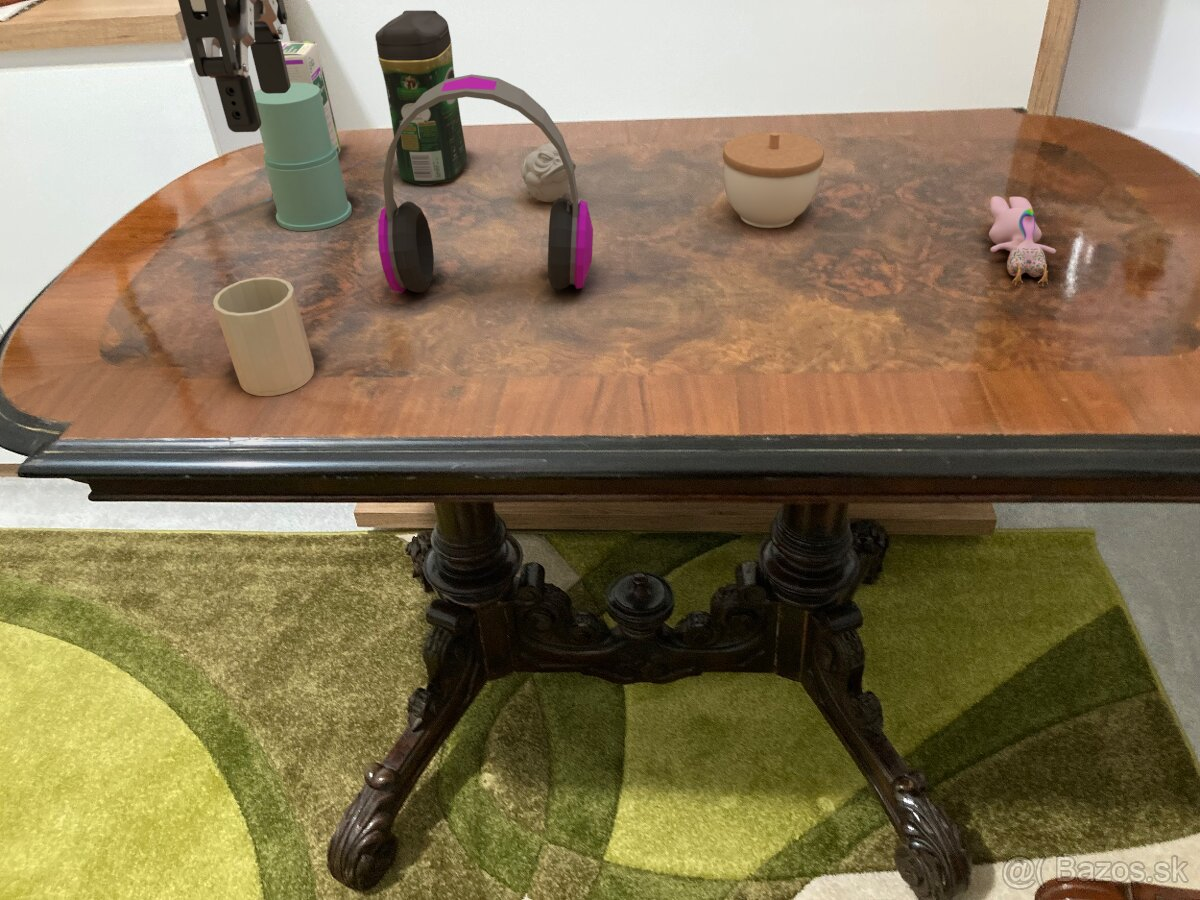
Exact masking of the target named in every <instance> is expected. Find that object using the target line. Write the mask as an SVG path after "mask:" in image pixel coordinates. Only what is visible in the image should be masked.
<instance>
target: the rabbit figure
mask: <svg viewBox="0 0 1200 900" xmlns="http://www.w3.org/2000/svg"><path fill="white" fill-rule="evenodd" d="M1008 199H1009V204H1008V203H1007V201H1006V200H1005V198H1003V197H1001V196H998V195H995V196H992V197H991V198H990V203H989V209H990V210H989V211H990V213H991V216H992V218H993V219H994V223H993V224H992V227H991V228H990V230H989V232H988V236H989V239H990V240H991V241H992V242H993V243H994V244H995V245H993V246H992V247H990V249H989V250H990V252H991V253H997V251H999V250H1005V251H1009V255H1008V257H1007V262H1006V269H1007V273H1008V274H1009V275H1010V276H1012V277H1014V278H1013V280H1012V281H1011V282H1012V284H1013V283H1014V286H1015V287H1016V286H1017V283H1018V282H1021V283H1022V284H1023V282H1024V281H1023V280H1022V275H1024V274H1027V275H1029V276H1030V277H1032V278H1038V277H1041V276H1042V277H1041V279H1039V281H1037V284H1039V283H1041V285H1042V287H1044V283H1046V284H1047V285H1048V284H1049V283H1048V281H1049V280H1048V273H1049V271H1048V270H1047V269H1048V268H1047V267H1048V264H1047V260H1046V254H1045V252H1046V253H1048V254H1051V255H1055V254H1056V253H1057V250H1056V249H1055V248H1053V247H1051V246H1047V245H1045V244H1040V243H1037V242H1038V241H1040V240H1041V238H1042V236H1043V233H1042V231H1041V228H1039V226H1038V224H1037V222H1036V217H1035V216H1036V215H1035V211H1034V209H1033V206H1032V204H1031V203H1030V201H1029V200H1028V199H1027V198H1025V197H1023V196H1010V197H1009V198H1008Z"/></svg>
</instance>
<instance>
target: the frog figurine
mask: <svg viewBox="0 0 1200 900" xmlns="http://www.w3.org/2000/svg"><path fill="white" fill-rule="evenodd" d="M571 160H572V162H573V167H574V171H575V170H576V167H577V165H576V164H575V160H574V159H573V158H572V157H571ZM522 162H523V163H522V166H521V168H520V173H521V177H522V179H523V182H524V184H525V185H526V187H527V190H528V192H529V194H530V195H531V196H532V197H533V198H534V199H536V200H538V201H539V202H543V203H554V202H555V201H556V200H557V199H558V198H563V196H564V195H565V194H566V193H567V190H568V188H569V186H570V185H569V179H568V175H567V172H566V170H565V168H564V165H563V163H562V160H561V158H560V156H559V153H558V151H557V149H556V148H555V146H554V145H553V144H552V143H551V141H549V142H547V143H543V144H541V145H540V146H539V147H538V148H537V149H536V150H534V151H531V152H530V153H529V154H527V156H525V158H524V159H523V161H522Z"/></svg>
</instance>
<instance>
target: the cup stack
mask: <svg viewBox="0 0 1200 900" xmlns="http://www.w3.org/2000/svg"><path fill="white" fill-rule="evenodd" d="M290 85H291V86H290V89H289V90H288V91H287V92H286V93H272V94H267V93H264V92H263V91H262V90H261V88H260V89H258V90H256V91H254V94H255V98H256V102H257V107H258V111H259V115H260V119H261V126H260V128H259V129H258V131H259V133H260V137H261V141H262V144H263V145H262V146H263V150H264V154H263V160H264V161H263V164H264V167H265V171H266V174H267V178H268V182H269V186H270V189H271V192H272V198H273V200H274V205H275V208H276V209H275V210H276V214H275V219H276V222H277V224H278V225H279V226H280V227H281V228H283V229H286V230H289V231H295V232H313V231H321V230H325V229H329V228H332V227H334V226H337V225H340V224H341V223H343V222H345V221H346V220H347V219H349V218H350V217H351V215H352V213H353V209H352V208H353V207H352V204H351V202H350V201H349V200H348V196H347V192H346V186H345V183H344V178H343V174H342V173H343V172H342V168H341V163H340V159H339V154H337V151H336V149H335V146H334V144H332V143H331V139H330V134H329V129H328V125H327V120H326V115H325V111H324V106H323V101H322V97H321V92H320V88H319V87H318V86H316V85H314V84H309V83H290Z"/></svg>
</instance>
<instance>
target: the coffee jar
mask: <svg viewBox="0 0 1200 900" xmlns="http://www.w3.org/2000/svg"><path fill="white" fill-rule="evenodd" d="M374 38H375V43H376V50H377V55H378V57H377V58H378V62H379V64H380V67H381V68H380V69H381V71H382V75H383V80H384V84H385V90H386V94H387V95H386V96H387V103H388V108H389V114H390V120H391V126H392V134H393V138H394V137H395V134H396V132H397V130H398V128H399V126H400V124H401V122H402V120H403V118H404V116H405V114H406V113H407V112H408V111H409V109H410V108H411V107H412V106H413V105H414V104H415V103H416V101H417V100H418V99H419V98H420V97H421V96H422V94H423V93H425V92H426V91H428V90H430V89H431V88H433V87H435V86H436V85H438V84H440V83H441V82H443V81H445V80H446V79H451V78H456V76H455V70H454V69H455V68H454V58H453V47H452V38H451V32H450V28H449V24H448V21H447V20H446V19H445V17H443V16H442V15H441V14H439V13H438V12H437V11H436V10H428V9H427V10H425V9H424V10H404V11H402V12H401V14H399V15H397V16H396V17H395V18H393V19H391V20H390V21H388V22H387V23H385V25H383V26H382V27H381V28H379V30H378V31H377V32H376V33H375V37H374ZM463 130H464V129H463V124H462V118H461V111H460V105H459V98H457V99H452V100H446V101H441V102H439V103H437V104H435V105H434V106H432V107H430V108H428V109H426V110H424V111H423V112H421V113H419V114H418V115H417V116H416V117H415V118H414V119H413V120H412V122H411V123H410V124H409V125H408V126H407V127H406V128H405V129H404V130H403V131H402V133H401V135H400V137H399V140H398V142H397V145H396V151H395V155H396V160H397V162H396V163H397V168H398V174H399V177H400V178H401V179H402V180H403V181H406V182H409V183H412V184H414V185H420V186H433V185H436V184H440V183H446V182H447V183H448V182H451V181H453V180H455V178H456V177H458V175H460V174H461V172H462V171H463V169H464V167H465V165H466V163H467V160H468V156H467V155H468V154H467V147H466V141H465V135H464V131H463Z"/></svg>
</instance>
